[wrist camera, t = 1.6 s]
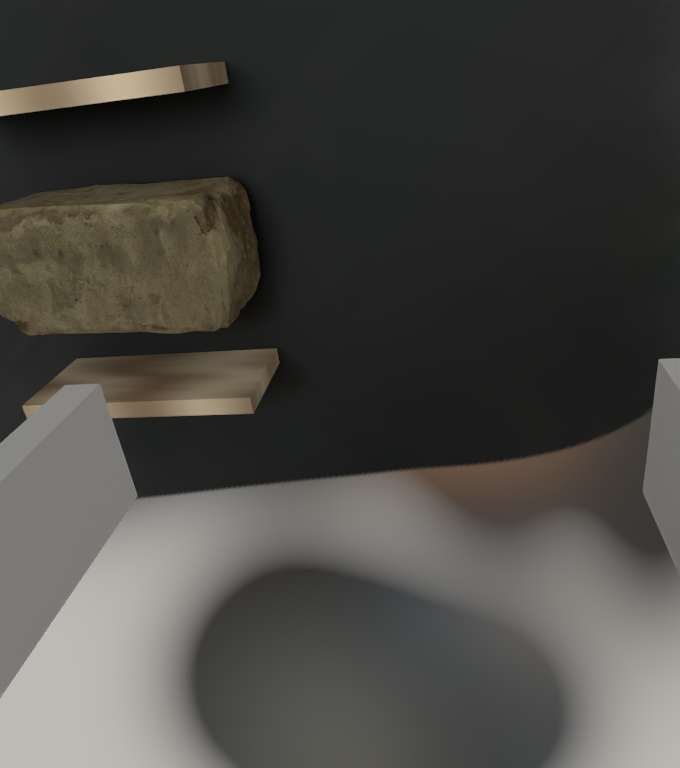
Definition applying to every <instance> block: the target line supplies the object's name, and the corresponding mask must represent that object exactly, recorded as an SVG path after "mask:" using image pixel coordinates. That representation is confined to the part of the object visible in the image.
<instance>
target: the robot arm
mask: <svg viewBox="0 0 680 768" xmlns="http://www.w3.org/2000/svg"><path fill="white" fill-rule="evenodd" d="M643 494H644V496H645V498H646V500H647V503H648V505H649V507H650V510H651V512H652V514H653V516H654V519H655V521H656V523H657V526H658V528H659V530H660V532H661V535H662V537H663V539H664V541H665V544H666V546H667V548H668V551H669V553H670V555H671V558H672V560H673V562H674V564H675V567H676V569H677V571H678V573H679V576H680V358H674V359H659V361H658V369H657V377H656V386H655V394H654V402H653V410H652V419H651V427H650V435H649V443H648V453H647V461H646V469H645V476H644V485H643ZM136 497H137V493H136V490H135V487H134V484H133V481H132V478H131V475H130V472H129V469H128V466H127V463H126V460H125V457H124V454H123V451H122V448H121V445H120V442H119V439H118V436H117V433H116V430H115V427H114V424H113V421H112V418H111V415H110V412H109V409H108V406H107V403H106V400H105V397H104V394H103V391H102V388H101V385H100V384H80V385H65V386H63V387H62V388H61V389H60V390H59V391H58V392H57V393H56V394H55V395H53V396H52V397H51V398H50V399H49V400H48V401H47V402H46V403H45V404H43V405H42V406H41V407H40V408H39V409H38V410H37V411H36V412H35V413H33V414H32V415H31V416H30V417H29V418H28V419H27V420H26V421H25V422H24V423H22V424H21V425H20V426H19V427H18V428H17V429H16V430H15V431H14V432H12V433H11V434H10V435H9V436H8V437H7V438H6V439H5V440H4V441H2V442H1V443H0V698H1V696H2V695H3V693H4V692H5V690H6V689H7V687H8V686H9V684H10V683H11V681H12V680H13V678H14V677H15V675H16V674H17V672H18V671H19V670H20V668H21V667H22V665H23V664H24V662H25V661H26V659H27V658H28V656H29V655H30V653H31V652H32V650H33V649H34V647H35V646H36V644H37V643H38V642H39V640H40V639H41V637H42V636H43V634H44V633H45V631H46V629H47V628H48V627H49V625H50V624H51V622H52V621H53V619H54V618H55V616H56V615H57V614H58V612H59V611H60V609H61V607H62V606H63V605H64V603H65V602H66V600H67V599H68V597H69V596H70V594H71V593H72V591H73V590H74V589H75V587H76V586H77V584H78V583H79V581H80V580H81V578H82V577H83V575H84V574H85V572H86V571H87V569H88V568H89V566H90V565H91V563H92V562H93V560H94V559H95V558H96V556H97V555H98V553H99V552H100V550H101V549H102V547H103V546H104V544H105V543H106V541H107V540H108V538H109V537H110V535H111V534H112V533H113V531H114V529H115V528H116V527H117V525H118V524H119V522H120V521H121V519H122V518H123V516H124V515H125V513H126V512H127V510H128V509H129V507H130V506H131V505H132V503H133V502H134V500H135V499H136Z"/></svg>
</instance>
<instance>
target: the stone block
mask: <svg viewBox="0 0 680 768" xmlns="http://www.w3.org/2000/svg"><path fill="white" fill-rule="evenodd" d="M250 209H251V208H250V204H249V200H248V196H247V193H246V190H245V189H244V188H243V186H242V185H241V184H240V182H238V181H236V180H234V179H232V178H230V177H216V178H205V179H193V180H178V181H169V182H160V183H150V184H114V185H94V186H89V187H84V188H75V189H65V190H54V191H46V192H41V193H36V194H33V195H30V196H26V197H24V198H21V199H18V200H14V201H11V202H7V203H3V204H0V315H1V316H3V317H5V318H7V319H9V320H11V321H14V322H15V323H16V325H18V326H19V327H20V331H21V332H23V333H25V334H27V335H45V334H85V333H122V332H152V333H166V334H180V333H185V332H191V331H215V330H217V329H219V328H226V327H229V326H230V325H231V324H232V323H233V322H234V321H235V319H236V318H237V317H238V315H239V313H240V310H241V309H242V308H243V307H244V306H246V303H247V301H249V300H250V299H251V298H252V296H253V294H254V293H255V291H256V289H257V286H258V282H259V279H260V276H261V274H260V264H259V255H258V251H257V244H258V242H257V238H256V235H255V232H254V230H253V227H252V221H251V217H250Z"/></svg>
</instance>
